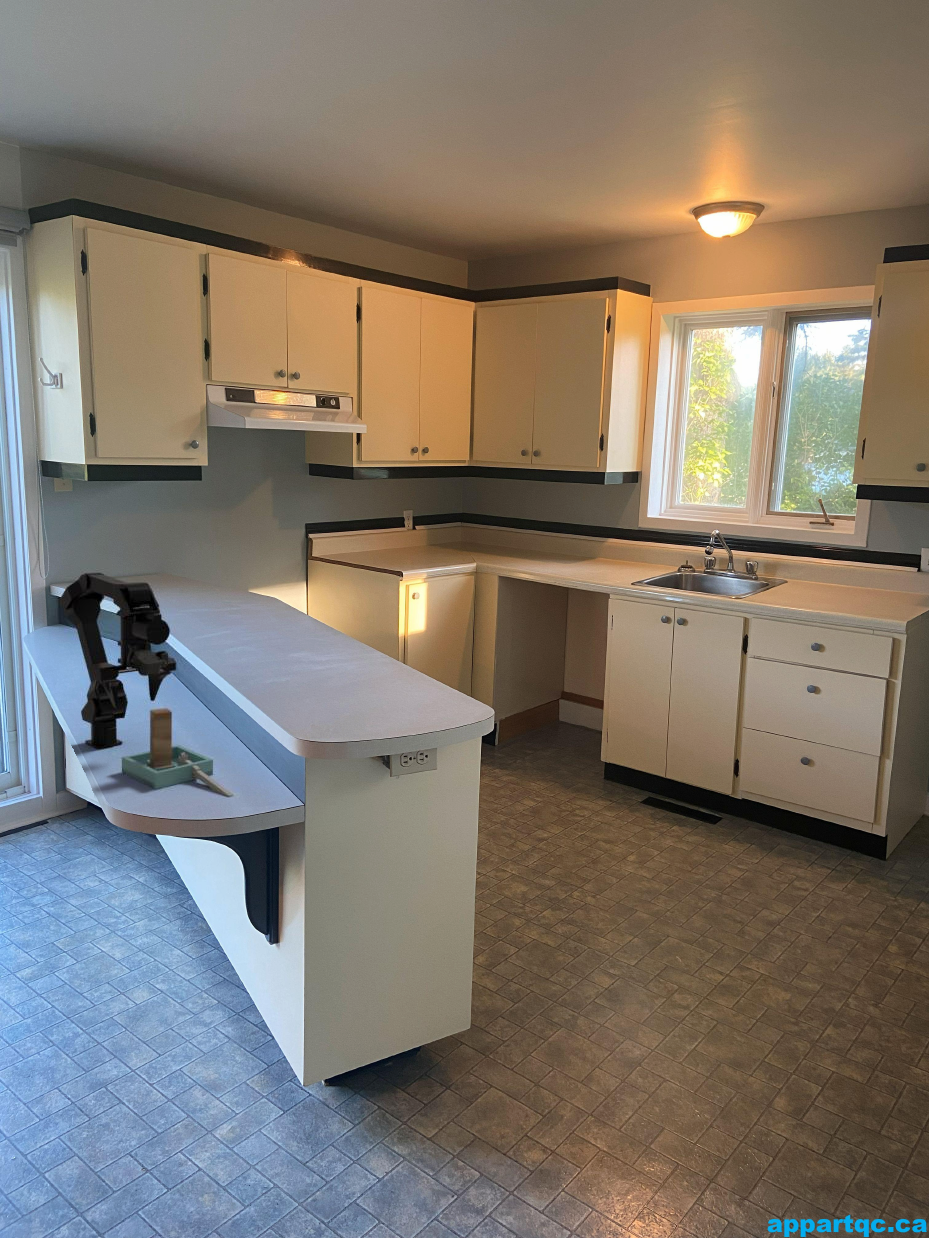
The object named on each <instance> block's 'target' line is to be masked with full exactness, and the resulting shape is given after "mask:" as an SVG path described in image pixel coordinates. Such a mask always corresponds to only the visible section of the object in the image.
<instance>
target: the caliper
mask: <svg viewBox="0 0 929 1238" xmlns="http://www.w3.org/2000/svg"><path fill="white" fill-rule="evenodd" d="M187 758H188V755H185V752H183V753H181V756H179V758H178V766H182V765H186V764H190V763H193V762H191V761H190V760H187ZM192 777H193V778H194V780H199V781H201V782H202V783H203V784H205V785H206V786H207V787H208V788H210V789H211V790H213V791H215V792H217V793H220V794H221V795H224V796H226V797H227V798H228V797H229V798H231V797H233V796H234V793H232V792H230V790H228V789H227V788H225V787H224V786H223V785H221V784H220V783H219V782H217V780H214V779H213V778H212V777H210V776H208V775H206V774H205V773H203V772H202V771H201V770H200V768H199V767H198V766H196V765H194V766H192Z"/></svg>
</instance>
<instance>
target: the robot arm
mask: <svg viewBox="0 0 929 1238" xmlns="http://www.w3.org/2000/svg"><path fill="white" fill-rule="evenodd" d="M105 597H107V598H110V599H111V600H112V601H113V602H112V603H113V604H114V605H115V606H117V607H118V608H119V609H118V611H117V612H116V616H117V617H120V640H117V646H119V647H120V657H119V658H117V664H118V665H115V664H112V663H109V660H108V656H107V654H106V650H105V647H104V643H103V639H102V636H101V630H100V627H99V624H98V619H99V617H100V613H101V610H102V608H101V604H102V602H103V600H104V599H105ZM59 601H60V606H61V609H62V610H63V612H64V615H65V618H66V619H67V620H68V621H69V622H70V623H71V624H72V625H73V626H75V628H76V632H77V636H78V639H79V643H80V646H81V651H82V655H83V658H84V662H85V666H86V669H87V673H88V676H89V681H90V684H89V687H88V690H87V693H86V699H87V701H86V703H85V705H84V706H83V707H82V709H81V711H80V715H81V718H82V719H81V720H82V721H84V722H86V723H89V724H90V739H86V740H84V743H85V744H87V745H89V746H92V747H93V748H95V749H104V748H108V747H113V746H118V745H119V746H120V745H123V743H124V742H123V741H122V740H120V739H118V737H117V736H118V735H117V733H118V732H117V731H118V729H117V720H118V719H119V720H120V719H125V717H126V713H127V708H128V704H129V701H128V697H127V694H126V691H125V689H124V683H123V682H122V681H121V680H120V679H118V677H119V674H127V673H133V672H137V673H138V674H139V675H140V676H143V677H147V679H148V691H149V692H148V695H149V699H150V701H151V702H154V701H155V700H156V698H157V695H158V692H159V691H160V686H161V684H162V683H163V680H164V679H166V677H168V675H171V674H172V672H173V671H177V669H178V668H177V661H176V660H175V657H171V656H169V652H168V651H166V650H158V651H154V652H153V651H152V645H157V646H158V645H162V644H163V643H165V642H167V640H168V638H169V637H170V634H171V629H170V626H169V624H168V622H166V621H165V620H163V619H162V618H163V617H162V613H161V609H160V605H159V602H158V600H157V598H156V597H155V595H154V591H153V589H152V588H151V586H150V584H149V583H148V582H145V581H139V582H138V581H136V582H135V581H134V582H126V581H123V580H120V579H117V578H115V577H111V576H108V575H106V574H104V573H102V572H88V573H87V572H84V573H83V574H81V575H80V576H79V578H78V579H77V580H76V581H75V582H73V583H71V584H70V585H67V587H66V588H65V590H64V591H63V592H62V594H61V596H60V600H59ZM151 644H152V645H151ZM119 664H120V665H119Z"/></svg>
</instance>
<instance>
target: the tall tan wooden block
mask: <svg viewBox="0 0 929 1238" xmlns="http://www.w3.org/2000/svg"><path fill="white" fill-rule="evenodd" d="M172 715H173V712H172V711H171V710H170V709H169V708H167V707H163V708H162V707H161V708H155V709H150V710H149V728H150V729H149V731H150V732H149V751H150V760H146V766H148V767H150V768H152V769H154V770H156V771H161V770H165V769H169V768H174V767H175V765H174V764H173V763H172V746H173V745H172V741H173V740H172V735H173V733H172V731H173V730H172V729H173V728H172V726H173V724H172V723H173V719H172V718H173V716H172Z"/></svg>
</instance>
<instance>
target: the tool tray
mask: <svg viewBox="0 0 929 1238" xmlns="http://www.w3.org/2000/svg"><path fill="white" fill-rule="evenodd" d="M183 752H185V755H188V758H187V760H190V761H191V762H193V763H190V764H186V765H182V766H178V758H179V756H181V753H183ZM146 760H150V750H148V751H145V752H139V753H134V754H130V755H126V756H122V757H121V773H122V772H123V773H122V774H124V773H125V774H124V775H126V776H128V775H129V777H130V778H132V777H133V779H134V780H136V779H137V781H138V782H141V783H143V784H144V783H145V784H144V785H146V784H147V786H149V787H151V788H153V789H155V790H159V789H163V788H167V787H171V786H175V785H177V784H182V783H186V782H190V781H193V780H194V778H193V777H192V766H194V765H196V766H198V767H199V768H200V770H201V771H202V772H203V773H205V774H206V775H208V776H209V777H210V776H212V775H214V760H213V759H212V758H210V757H207V756H205V755H203V754H201V753H198V752H196V751H194V750H191V749H189V748H187V747H184V746H181V745H179V744H176V745H172V763H173V764H174V765H175V767H174V768H169V769H165V770H161V771H156V770H154V769H152V768H150V767H148V766H146Z"/></svg>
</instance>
